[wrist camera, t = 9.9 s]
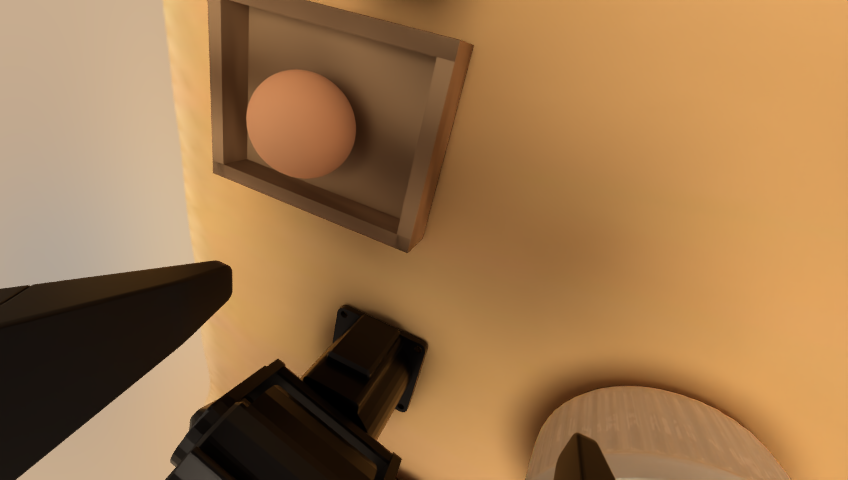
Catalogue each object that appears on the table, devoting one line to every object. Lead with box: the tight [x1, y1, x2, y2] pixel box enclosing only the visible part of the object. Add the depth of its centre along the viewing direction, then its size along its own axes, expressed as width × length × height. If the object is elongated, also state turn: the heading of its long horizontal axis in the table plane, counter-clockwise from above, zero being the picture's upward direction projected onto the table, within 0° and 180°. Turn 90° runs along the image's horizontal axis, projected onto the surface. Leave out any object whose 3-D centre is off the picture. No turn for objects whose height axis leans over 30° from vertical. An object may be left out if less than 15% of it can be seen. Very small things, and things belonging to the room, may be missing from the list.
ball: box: [246, 69, 356, 179], centre depth 18 cm, size 5×5×5 cm
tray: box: [208, 0, 474, 253], centre depth 19 cm, size 10×13×2 cm
